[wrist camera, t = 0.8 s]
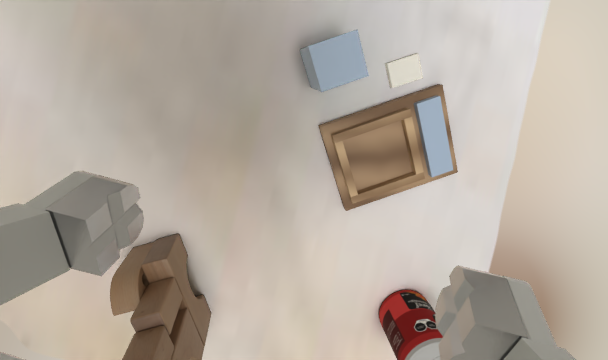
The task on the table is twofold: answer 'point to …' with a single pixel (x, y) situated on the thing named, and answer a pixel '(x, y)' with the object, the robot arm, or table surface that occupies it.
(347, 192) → the tray
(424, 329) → the canned food
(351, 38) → the block
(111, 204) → the robot arm
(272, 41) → the table surface
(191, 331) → the wooden toy
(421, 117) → the plate
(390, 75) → the cream rectangular block
